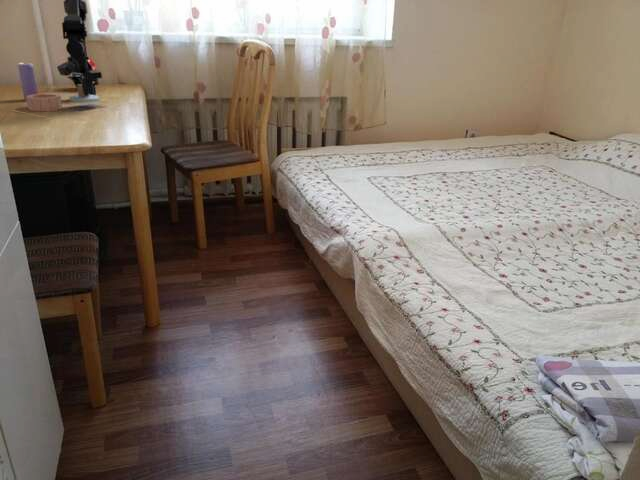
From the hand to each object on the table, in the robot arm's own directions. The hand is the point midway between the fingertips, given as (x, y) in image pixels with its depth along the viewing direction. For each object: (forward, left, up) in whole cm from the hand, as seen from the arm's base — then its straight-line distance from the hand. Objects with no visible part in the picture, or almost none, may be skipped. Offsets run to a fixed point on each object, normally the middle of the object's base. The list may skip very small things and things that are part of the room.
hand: (83, 95), depth 212 cm
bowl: (+11, -10, -5) cm, 16 cm away
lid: (0, 0, -2) cm, 2 cm away
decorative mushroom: (-29, -39, -5) cm, 49 cm away
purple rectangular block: (+3, -32, -5) cm, 33 cm away
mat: (0, 0, -5) cm, 5 cm away
